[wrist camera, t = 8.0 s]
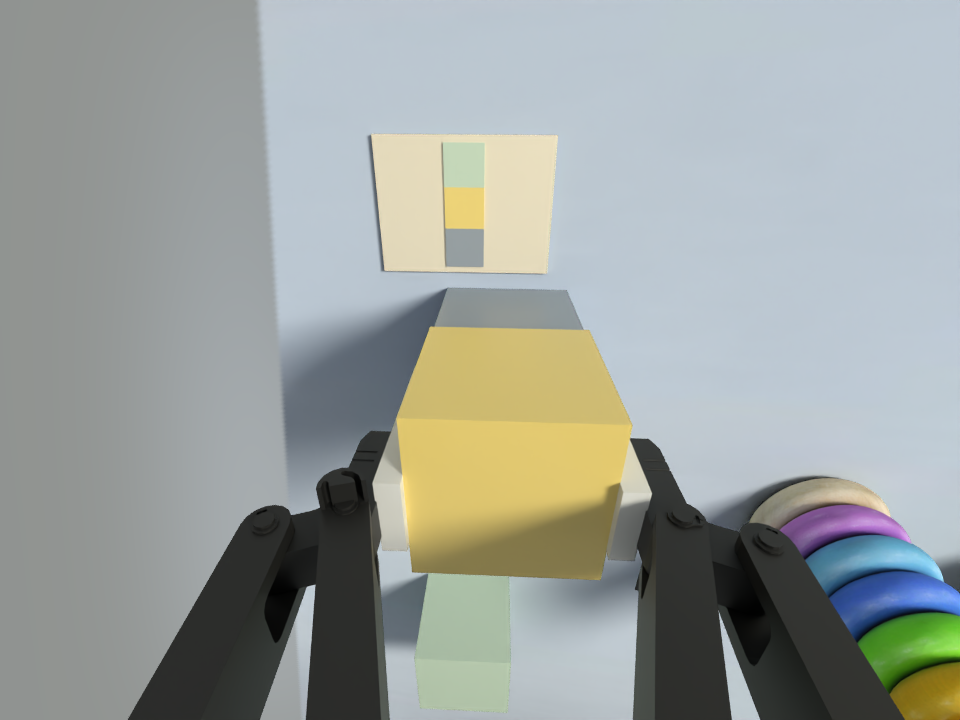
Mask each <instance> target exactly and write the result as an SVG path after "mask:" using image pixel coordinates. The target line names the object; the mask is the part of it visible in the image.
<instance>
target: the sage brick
mask: <svg viewBox="0 0 960 720" xmlns="http://www.w3.org/2000/svg"><path fill="white" fill-rule="evenodd" d="M414 659H415V668H416V677H417V685H418V694H419V703H420V708H425V709H444V710H463V711H483V712H502V713H507V712H508V698H509V683H510V668H511V648H510V599H509V577H505V576H481V575H456V574H432V573H428V579H427V585H426V591H425V597H424V603H423V610H422V616H421V622H420V628H419V634H418V640H417V646H416V652H415V658H414Z"/></svg>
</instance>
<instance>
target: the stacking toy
mask: <svg viewBox="0 0 960 720" xmlns="http://www.w3.org/2000/svg"><path fill="white" fill-rule="evenodd" d="M749 523H762V524H766V525H769V526H771V527H773V528H776V529H778V530H780V531H781V532H782V533H784V534H785V535H786V536H788V537H789V538H790V539H791V541H792V542H793V543H794V544H795V545H796V547H797V548H798V550H799V552H800V553H801V555H802V556H803V558H804V560H805V561H806V563H807V564H808V566H809V567H810V569H811V571H812V572H813V574H814V575H815V577H816V579H817V580H818V582H819V583H820V585H821V587H822V588H823V590H824V591H825V593H826V595H827V596H828V598H829V599H830V601H831V603H832V604H833V606H834V607H835V609H836V610H837V612H838V614H839V615H840V617H841V618H842V620H843V622H844V623H845V625H846V626H847V628H848V630H849V631H850V633H851V634H852V636H853V638H854V639H855V641H856V642H857V644H858V645H859V647H860V649H861V650H862V652H863V653H864V655H865V657H866V658H867V660H868V661H869V663H870V665H871V666H872V668H873V669H874V671H875V673H876V674H877V676H878V677H879V679H880V681H881V682H882V684H883V685H884V687H885V688H886V690H887V692H888V693H889V695H890V696H891V698H892V700H893V701H894V703H895V704H896V706H897V708H898V709H899V711H900V712H901V714H902V716H903V717H904V719H905V720H960V593H959V592H958V591H956V590H955V589H954V588H953V587H951V586H950V585H948V584H946V583H945V582H944V581H943V576H942V573H941V571H940V569H939V567H938V566H937V564H936V563H935V562H934V560H933V559H932V558H931V557H930V556H929V555H928V554H927V553H925V552H924V551H923V550H922V549H920V548H918V547H917V546H915V545H913V544H911V541H910V538H909V536H908V535H907V533H906V531H905V530H904V529H903V528H902V527H901V526H900V525H899V524H898V523H897V522H896V521H895V520H894V519H892V518H891V516H890V512H889V510H888V508H887V506H886V505H885V503H884V502H883V501H882V499H881V498H880V497H879V496H878V495H877V494H875V493H874V492H873V491H871V490H870V489H868V488H866V487H864V486H862V485H860V484H858V483H855V482H852V481H848V480H843V479H835V478H821V479H813V480H808V481H804V482H800V483H797V484H794V485H791V486H789V487H787V488H785V489H783V490H781V491H779V492H777V493H776V494H774V495H773V496H771V497H770V498H768V499H767V500H766V501H765V502H764V503H763V504H761V505H760V506H759V507H758V509H757V510H756V511H755V512H754V514H753V516H752V517H751V519H750V521H749Z"/></svg>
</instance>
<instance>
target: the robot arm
mask: <svg viewBox="0 0 960 720" xmlns="http://www.w3.org/2000/svg"><path fill="white" fill-rule="evenodd" d="M414 369H415V367H414ZM413 372H414V370H413ZM412 375H413V373H412ZM411 377H412V376H411ZM410 380H411V378H410ZM409 383H410V381H409ZM408 386H409V384H408ZM407 388H408V387H407ZM406 391H407V389H406ZM405 394H406V392H405ZM404 396H405V395H404ZM403 399H404V398H403ZM402 402H403V400H402ZM401 405H402V403H401ZM400 407H401V406H400ZM399 410H400V409H399ZM398 413H399V411H398ZM397 415H398V414H397ZM396 418H397V417H396ZM316 491H317V496H318V500H319V504H320V508H318V509H316V510H312V511H309V512H304V513H300V514H295V515H291V514H290V512H289V510H288V509H286V508H285V507H283V506H277V505H272V506H266V507H263V508H260V509H258V510H256V511H254V512H253V513H251V514H250V515H248V516H247V517H246V518H245V519H244V521H243V522H242V523H241V524H240V526H239V528H238V530H237V531H236V533H235V535H234V536H233V538H232V540H231V542H230V544H229V545H228V547H227V549H226V551H225V552H224V554H223V556H222V557H221V559H220V561H219V562H218V564H217V566H216V568H215V569H214V571H213V573H212V575H211V576H210V578H209V580H208V582H207V583H206V585H205V587H204V589H203V590H202V592H201V594H200V596H199V597H198V599H197V601H196V602H195V604H194V606H193V608H192V610H191V611H190V613H189V614H188V616H187V618H186V620H185V621H184V623H183V625H182V627H181V628H180V630H179V632H178V633H177V635H176V637H175V639H174V640H173V642H172V644H171V646H170V647H169V649H168V651H167V653H166V654H165V656H164V658H163V659H162V661H161V663H160V665H159V666H158V668H157V670H156V672H155V673H154V675H153V677H152V678H151V680H150V682H149V684H148V686H147V687H146V689H145V691H144V692H143V694H142V696H141V698H140V699H139V701H138V703H137V704H136V706H135V708H134V710H133V712H132V713H131V715H130V717H129V718H128V720H260V717H261V715H262V712H263V709H264V706H265V703H266V700H267V697H268V695H269V692H270V689H271V686H272V684H273V680H274V678H275V675H276V672H277V669H278V667H279V664H280V661H281V658H282V655H283V652H284V650H285V647H286V644H287V641H288V638H289V635H290V633H291V630H292V627H293V624H294V621H295V618H296V616H297V613H298V610H299V607H300V604H301V602H302V599H303V596H304V593H305V590H306V587H307V586H311V585H315V584H316V586H315V600H314V614H313V628H312V642H311V656H310V670H309V684H308V698H307V712H306V720H390V718H389V703H388V689H387V675H386V660H385V646H384V632H383V618H382V603H381V589H380V575H379V561H378V555H377V550H378V547H379V543H380V540H381V544H382V550H383V551H407V550H408V546H409V535H408V525H407V515H406V505H405V496H404V486H403V476H402V468H401V458H400V448H399V438H398V429H397V419H396V420H395V422H394V425H393V428H392V431H391V432H385V431H370V432H369V433H368V434H367V435H366V436H365V437H364V438H363V439H362V440H361V441H360V443H359V445H358V448H357V450H356V453H355V454H354V457H353V459H352V461H351V463H350V465H349V468H340V469H337V470H333V471H331V472H329V473H328V474H326V475H324V476H323V477H322V478H321V480H320V481H319V482H318V484H317V487H316ZM637 549H638V550H639V554H640V557H641V560H642V566H641V569H640V573H639V576H638V580H637V584H636V587H635V590H638V591H639V595H638V618H637V640H636V663H635V685H634V708H633V720H732V718H731V710H730V702H729V693H728V685H727V677H726V669H725V661H724V653H723V645H722V637H721V629H720V620H719V613H720V615H721V618H722V621H723V623H724V626H725V629H726V631H727V634H728V636H729V639H730V642H731V644H732V647H733V649H734V652H735V655H736V657H737V660H738V662H739V665H740V668H741V670H742V673H743V676H744V678H745V681H746V683H747V686H748V689H749V691H750V694H751V696H752V699H753V702H754V704H755V707H756V710H757V712H758V715H759V717H760V720H905V719H904V717H903V716H902V714H901V712H900V711H899V709H898V708H897V706H896V704H895V703H894V701H893V700H892V698H891V696H890V695H889V693H888V692H887V690H886V688H885V687H884V685H883V684H882V682H881V681H880V679H879V677H878V676H877V674H876V673H875V671H874V669H873V668H872V666H871V665H870V663H869V661H868V660H867V658H866V657H865V655H864V653H863V652H862V650H861V649H860V647H859V645H858V644H857V642H856V641H855V639H854V638H853V636H852V634H851V633H850V631H849V630H848V628H847V626H846V625H845V623H844V622H843V620H842V618H841V617H840V615H839V614H838V612H837V610H836V609H835V607H834V606H833V604H832V603H831V601H830V599H829V598H828V596H827V595H826V593H825V591H824V590H823V588H822V587H821V585H820V583H819V582H818V580H817V579H816V577H815V575H814V574H813V572H812V571H811V569H810V567H809V566H808V564H807V563H806V561H805V560H804V558H803V556H802V555H801V553H800V552H799V550H798V548H797V547H796V545H795V544H794V543H793V542H792V541H791V539H790V538H789V537H788V536H786V535H785V534H784V533H782V532H781V531H780V530H778V529H776V528H773V527H771V526H769V525H766V524H762V523H748V524H746V525H744V526H742V528H741V531H740V532H736V531H733V530H729V529H726V528H722V527H719V526H716V525H713V524H710V523H708V522H706V519H705V517H704V516H703V515H702V514H701V513H700V512H699V511H698V510H697V509H695V508H694V507H692V506H691V505H689V504H687V503H686V501H685V499H684V497H683V495H682V493H681V491H680V489H679V487H678V485H677V483H676V481H675V479H674V477H673V475H672V473H671V471H670V469H669V467H668V465H667V463H666V462H665V459H664V457H663V455H662V453H661V451H660V449H659V448H658V447H657V446H656V445H655V444H654V443H653V442H652V441H650V440H649V439H634V438H630V440H629V445H628V449H627V454H626V459H625V464H624V469H623V474H622V479H621V483H620V486H619V490H618V495H617V500H616V505H615V510H614V515H613V520H612V524H611V529H610V534H609V539H608V544H607V549H606V552H607V556H608V560H621V561H635V557H636V553H637ZM718 610H719V612H718Z"/></svg>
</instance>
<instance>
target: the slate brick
mask: <svg viewBox="0 0 960 720" xmlns="http://www.w3.org/2000/svg"><path fill="white" fill-rule="evenodd" d="M434 327H471V328H518V329H564V330H584V329H583V327H582V325H581V322H580V320H579V318H578V315H577V313H576V311H575V308H574V306H573V304H572V301H571V299H570V297H569V294H568V292H567V290H535V289H486V288H447V291H446V294H445V297H444V300H443V303H442V306H441V309H440V311H439V314H438V317H437V320H436V323H435V326H434Z"/></svg>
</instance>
